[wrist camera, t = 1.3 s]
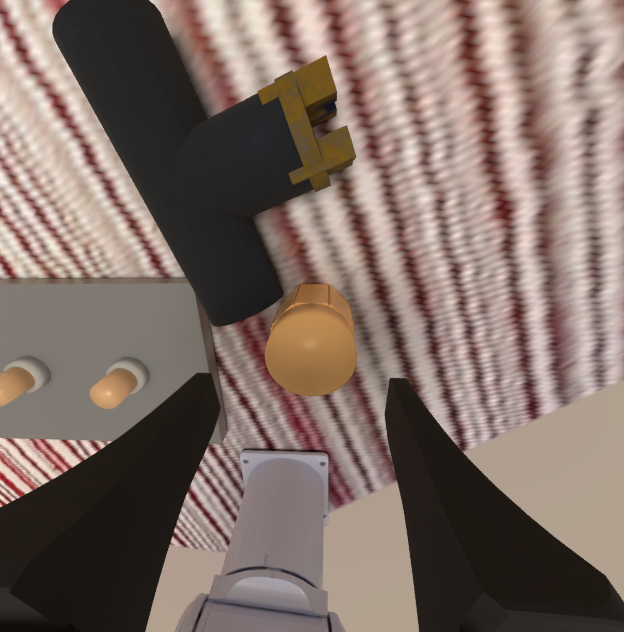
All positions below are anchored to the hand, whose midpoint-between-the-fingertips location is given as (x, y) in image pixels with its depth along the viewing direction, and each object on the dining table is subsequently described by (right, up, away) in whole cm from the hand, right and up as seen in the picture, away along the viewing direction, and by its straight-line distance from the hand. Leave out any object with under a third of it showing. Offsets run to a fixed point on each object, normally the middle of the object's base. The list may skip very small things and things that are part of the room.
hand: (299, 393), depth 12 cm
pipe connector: (-3, +12, +7) cm, 14 cm away
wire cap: (+1, +3, +9) cm, 10 cm away
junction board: (-17, -1, +12) cm, 21 cm away
